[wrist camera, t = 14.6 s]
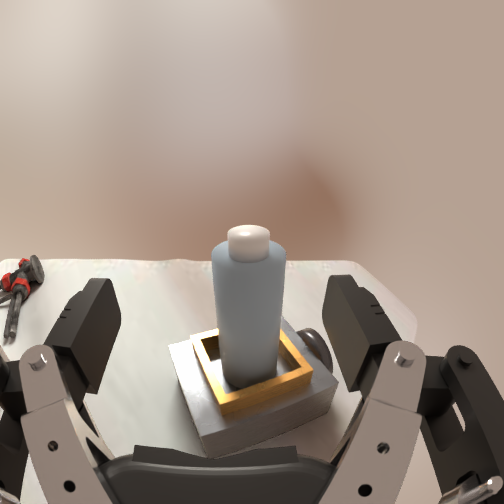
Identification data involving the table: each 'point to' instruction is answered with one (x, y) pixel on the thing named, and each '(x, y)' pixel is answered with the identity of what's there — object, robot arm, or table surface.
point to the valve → (19, 289)
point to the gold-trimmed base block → (254, 390)
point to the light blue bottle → (248, 304)
